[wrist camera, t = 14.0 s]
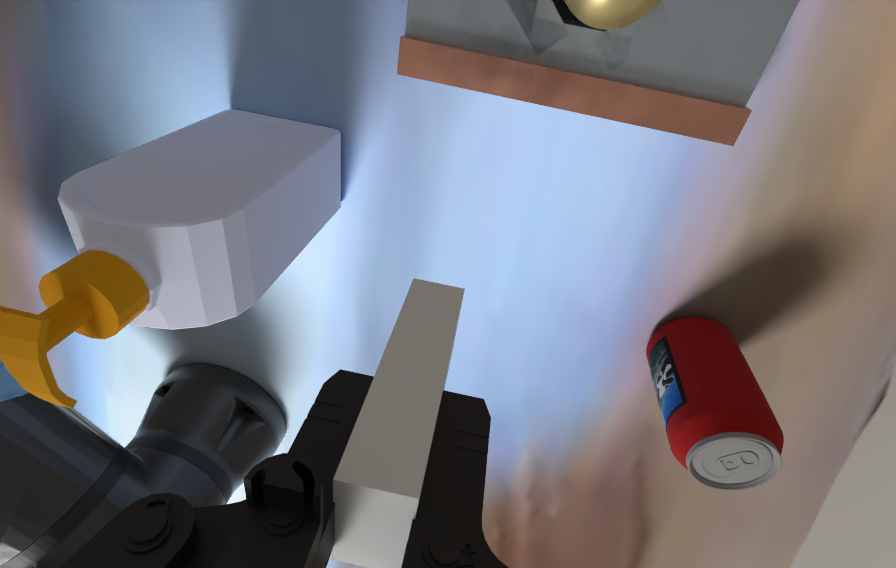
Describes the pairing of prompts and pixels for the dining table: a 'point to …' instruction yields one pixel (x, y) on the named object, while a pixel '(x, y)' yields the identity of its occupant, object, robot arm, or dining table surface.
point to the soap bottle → (178, 234)
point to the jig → (604, 58)
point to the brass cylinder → (610, 12)
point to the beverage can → (713, 406)
